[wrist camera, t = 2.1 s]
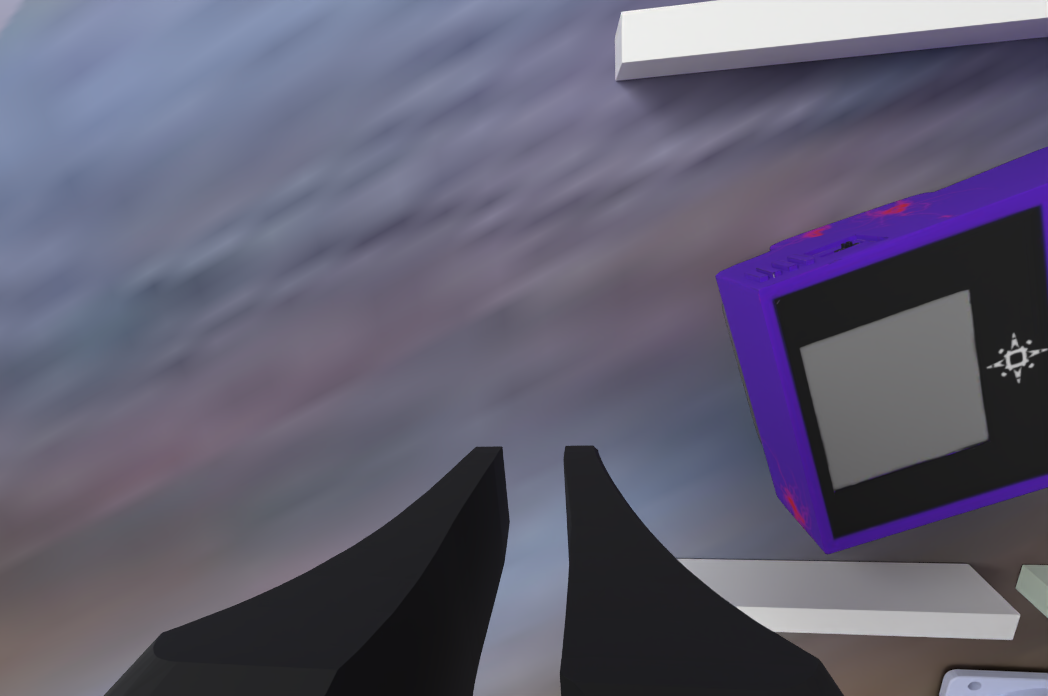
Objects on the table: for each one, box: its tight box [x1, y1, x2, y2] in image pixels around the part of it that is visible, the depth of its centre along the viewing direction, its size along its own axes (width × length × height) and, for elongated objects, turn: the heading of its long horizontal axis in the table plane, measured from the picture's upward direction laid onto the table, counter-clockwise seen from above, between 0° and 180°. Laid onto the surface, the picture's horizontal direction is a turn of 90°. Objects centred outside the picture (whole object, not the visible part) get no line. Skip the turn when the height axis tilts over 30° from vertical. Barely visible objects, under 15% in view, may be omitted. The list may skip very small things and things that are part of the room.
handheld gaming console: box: [716, 147, 1048, 554], centre depth 15 cm, size 9×5×15 cm
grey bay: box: [615, 0, 1048, 640], centre depth 17 cm, size 14×21×2 cm, turn 4°
